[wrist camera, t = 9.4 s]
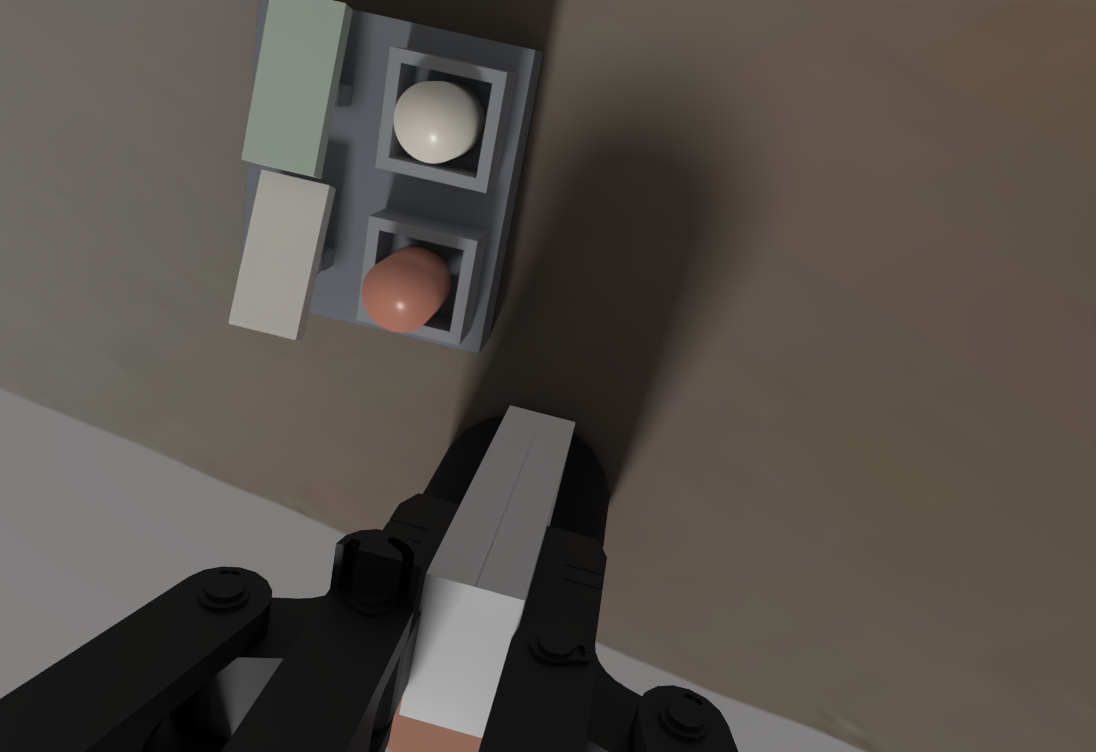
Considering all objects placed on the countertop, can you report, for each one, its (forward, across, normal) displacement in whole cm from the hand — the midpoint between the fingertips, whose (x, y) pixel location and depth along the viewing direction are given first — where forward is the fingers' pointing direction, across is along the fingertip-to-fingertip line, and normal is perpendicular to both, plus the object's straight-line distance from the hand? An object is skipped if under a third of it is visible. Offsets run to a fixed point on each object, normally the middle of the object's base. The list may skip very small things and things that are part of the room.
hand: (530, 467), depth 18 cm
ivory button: (+25, +9, -4) cm, 27 cm away
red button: (+23, +9, +4) cm, 25 cm away
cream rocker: (+23, +16, +4) cm, 29 cm away
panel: (+28, +13, 0) cm, 31 cm away
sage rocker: (+23, +16, -4) cm, 29 cm away
